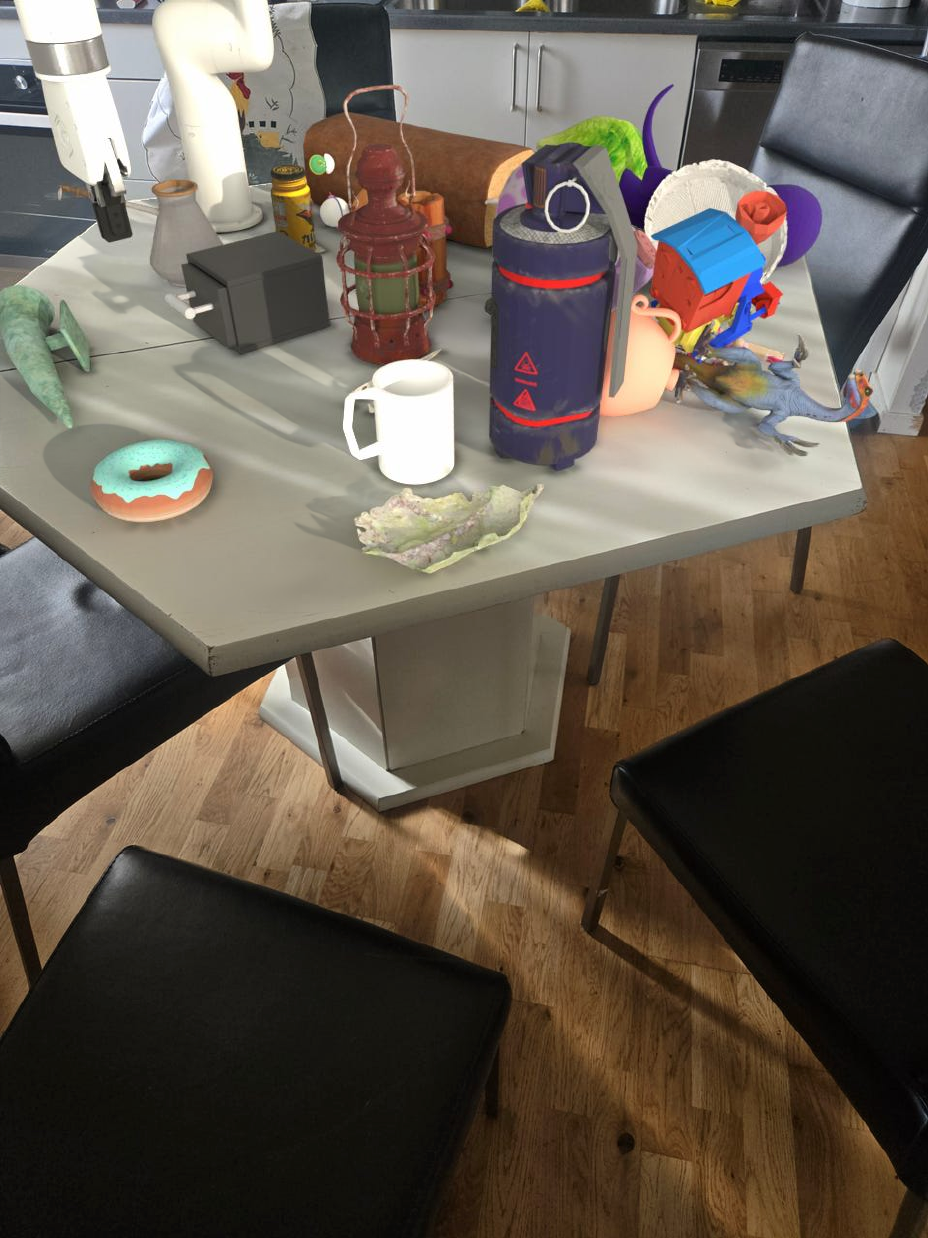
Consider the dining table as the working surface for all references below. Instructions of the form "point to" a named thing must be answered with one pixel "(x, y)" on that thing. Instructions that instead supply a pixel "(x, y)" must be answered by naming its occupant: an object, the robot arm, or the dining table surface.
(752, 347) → the toy
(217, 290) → the drawer
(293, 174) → the condiment
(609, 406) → the sugar bowl
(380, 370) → the cup
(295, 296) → the cabinet
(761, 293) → the toy train
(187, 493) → the donut
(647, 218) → the food container
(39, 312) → the decorative horn
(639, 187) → the toy
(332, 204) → the toy
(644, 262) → the toy
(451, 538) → the cabbage leaf
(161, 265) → the coffee pot
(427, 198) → the mug
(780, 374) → the toy dinosaur
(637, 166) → the lettuce
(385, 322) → the lantern
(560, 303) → the canister
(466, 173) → the bread
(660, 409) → the dining table surface
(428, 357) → the jawbone
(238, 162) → the robot arm
